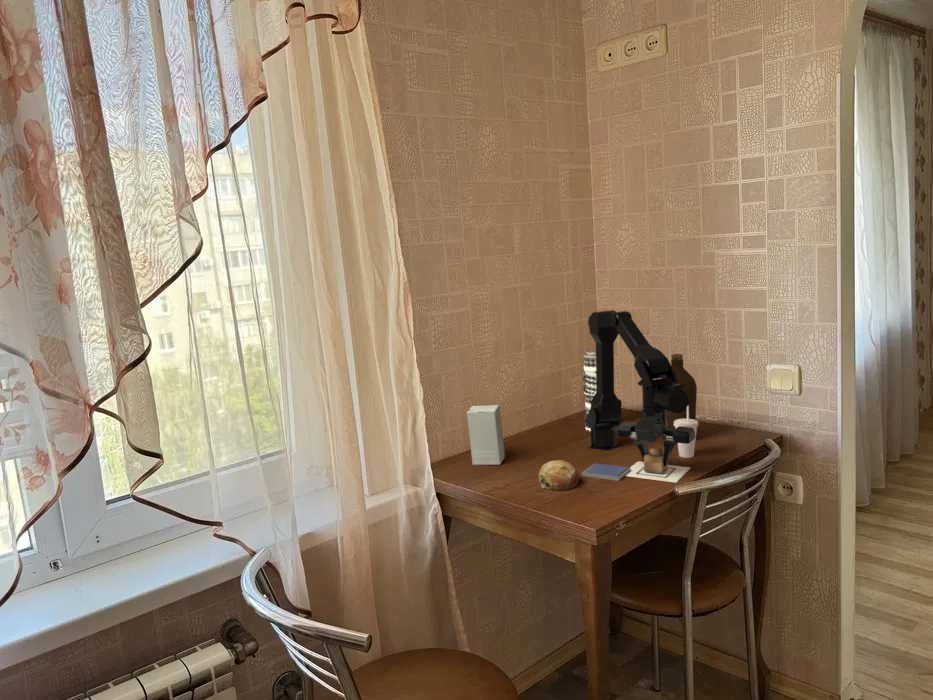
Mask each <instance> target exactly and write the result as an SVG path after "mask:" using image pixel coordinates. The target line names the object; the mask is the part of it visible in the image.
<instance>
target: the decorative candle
mask: <svg viewBox="0 0 933 700" xmlns="http://www.w3.org/2000/svg"><path fill="white" fill-rule="evenodd" d="M582 357H583V363H584V365H583V371H582V372H581V375H582V377H581V379H582V381H583V383H582V386H583V389H582V390H583V394H585V402H584V405H585V406H584V415H585V417H584V419H585V418H586V416H587V415H588V413H589V411H590V409H591V401H592V399H593V397H594V396H595V394H596V391H597V387H596V349H591V350H587V351H586V353H585V354H584V355H582ZM584 426H585V429H586V430H585V431H587V430H589V431H588V432H590V431H591V428H589V427H586V424H585V423H584Z"/></svg>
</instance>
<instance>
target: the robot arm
mask: <svg viewBox="0 0 933 700" xmlns="http://www.w3.org/2000/svg"><path fill="white" fill-rule="evenodd" d="M587 319H588V320H587V324H588V327H589V335H590V336H591V337H592V338H593V340H594V342H595V350H596V387H597V391H596V394H595V396H594V397H593V399H592V401H591V409H590V411H589V413H588V415H587V416H586V415H585V417H586V418H585V417H584V425H585V424H586V426H585V428H586V427H589V428H591V432H590V445H589V446H588V449H593V450H604V451H611V450H612V449H614V448H616V446H618V438H626V439H627V438H629V441H630V442H633V443H634V444H635V445H636V446H637V448H638V450H639V453H640V455H641V457H642V460H643V461H644V456H645V455H647V454H648V453H649V442H650V443H651V442H655V441H656V440H657V437H662V436H663V437H666V439H667V440H664V441H663V443H662V444H663V447H664V448H663V449H664V450H663V454H664V466H667V465H668V463H669V460H670V457H671V455H672V452H673V451H674V448H675V446H676V445H678V443H684V444H688V443H690V442H691V441H692V440H693V439H695V430H694V429H693V428H692V427H681V426H679V427H678V428H676V429H675V430H669V429H667V427H668V423H667V422H666V412H667V411H671V412H674V413H681V412H683V411H684V410H685V409H686V408H687V406H688V403H689V398H688V396H687V394H686V392H684V391H683V390H681V385H679V384H676V383H678V381H677V378H676V377H677V376H676V374H675V373H674V371H673V369H672V367H671V361H670V360H669V358H668V357H667V356H666V355H665V353H663V352H662V351H661V350H660V349H658V348H656V347H653V346H652V345H651V344H650V343H649V341H648V340H647V338H646V337H645V336H644V334H643V332H642V331H641V330H640V328H639V327H638V325H637V324H636V323H635V322H634V319H633V318H632V314H631V312H629V311H627V310H622V311H615V310H613V309H611V310H601V311H594V312H591V314H590V315H589V317H588V318H587ZM618 336H620V337H621V339H622V341H623V342H624V344H625V345H626V347H627V348H628V350H629V351H630V353H631V354H632V356H633V357H634V365H633V366H634V368H635V370H636V372H637V375H638V376H639V378H640V379H641V380H639V381H638V382H637V385H638V386H640V387H641V388H642V389H641V390H642V391H641V392H642V394H641V395H642V410H641V411H640V412H641V413H640V419H639V420H638V422H635V421H634V422H633V421H625V420H624V422H622V423H621V418H622V413H623V412H622V400H621V399H619V397H617V395H616V393H615V356H614V354H615V352H614V350H615V347H614V345H615V344H614V343H615V341H616V339H617V338H618ZM666 376H667V378H664V377H666ZM695 440H696V439H695Z"/></svg>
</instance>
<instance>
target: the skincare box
mask: <svg viewBox="0 0 933 700" xmlns="http://www.w3.org/2000/svg"><path fill="white" fill-rule="evenodd" d="M466 417H467V425H468V427H467V428H468V435H469V443H470V455H471V461H472V462H471V463H472V465H473V466H481V465H482V466H486V465H487V466H489V465H490V466H491V465H492V466H494V465H496V466H497V465H501V464H502V462H503V461H504V460H505V458H506V454H505V444H504V443H505V442H504V433H503V425H502V416H501V406H500V404H492V405H491V404H490V405H472V406H471V407H470V408H469V409H468V410H467V412H466Z"/></svg>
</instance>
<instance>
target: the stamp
mask: <svg viewBox="0 0 933 700" xmlns="http://www.w3.org/2000/svg"><path fill="white" fill-rule="evenodd" d="M643 462H644V471H645V472H653V473H661V474H662V473H663V472H665V471H666V470H667V466H664V453H663V449H662V448H659V447H653V448H649V452H648V454H647V455H645V456H644V460H643Z"/></svg>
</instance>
